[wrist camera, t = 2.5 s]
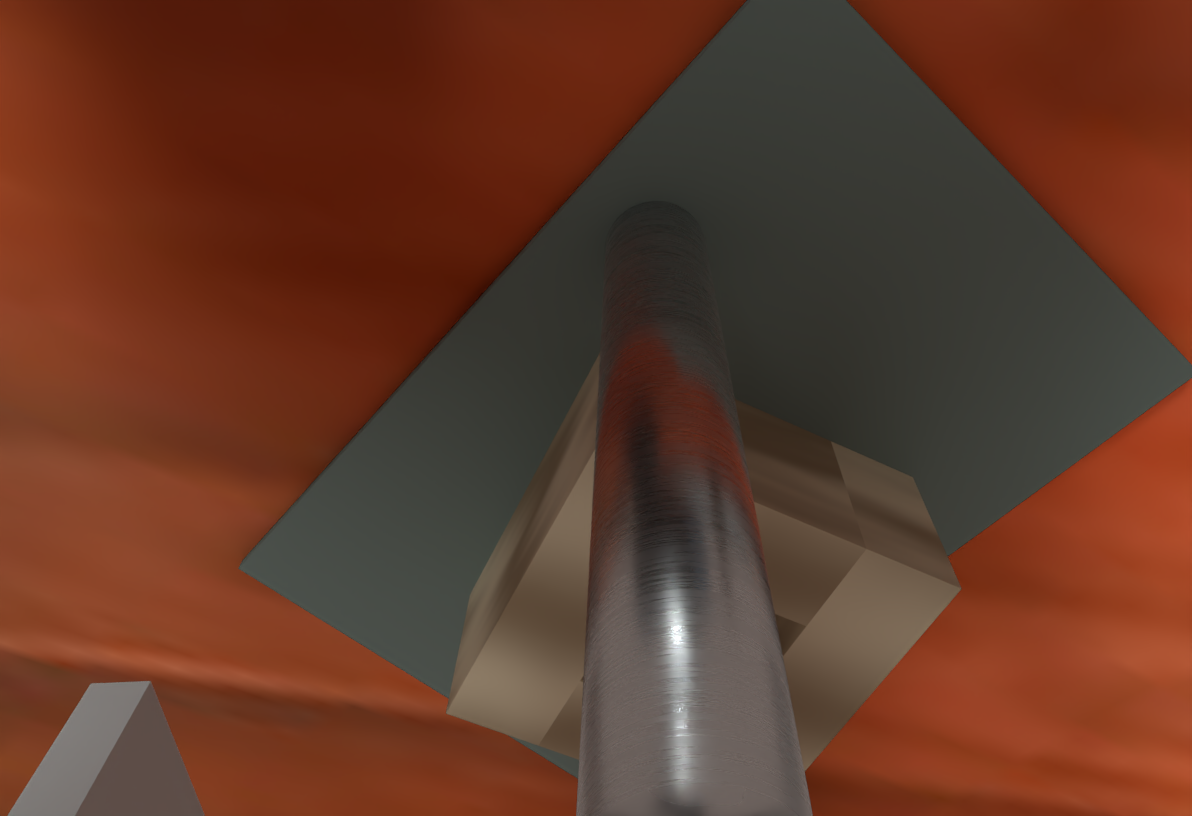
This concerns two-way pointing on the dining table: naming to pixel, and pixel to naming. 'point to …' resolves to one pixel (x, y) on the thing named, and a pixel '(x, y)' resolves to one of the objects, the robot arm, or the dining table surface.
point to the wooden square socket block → (793, 561)
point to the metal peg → (677, 557)
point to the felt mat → (747, 328)
